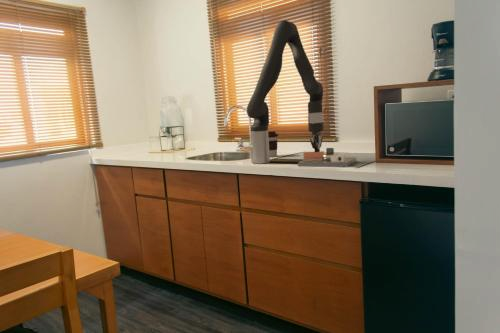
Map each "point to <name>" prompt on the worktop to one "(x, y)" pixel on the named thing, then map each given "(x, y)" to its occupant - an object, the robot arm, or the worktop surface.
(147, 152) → the worktop surface
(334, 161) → the stand base
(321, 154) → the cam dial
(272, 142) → the coffee cup
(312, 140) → the robot arm
